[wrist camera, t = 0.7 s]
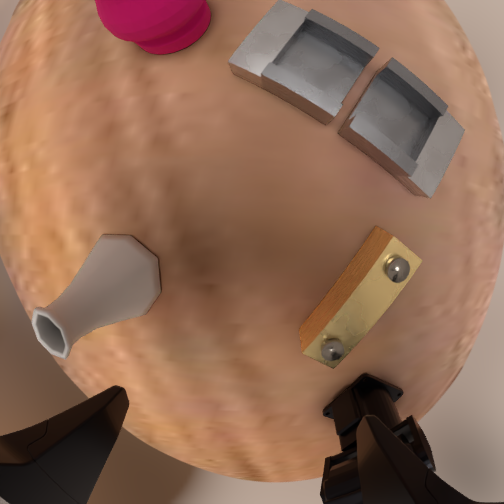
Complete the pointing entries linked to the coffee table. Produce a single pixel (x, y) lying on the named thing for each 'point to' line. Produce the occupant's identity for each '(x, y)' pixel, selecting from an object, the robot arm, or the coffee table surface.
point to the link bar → (358, 298)
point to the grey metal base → (338, 85)
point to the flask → (100, 293)
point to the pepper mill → (156, 22)
